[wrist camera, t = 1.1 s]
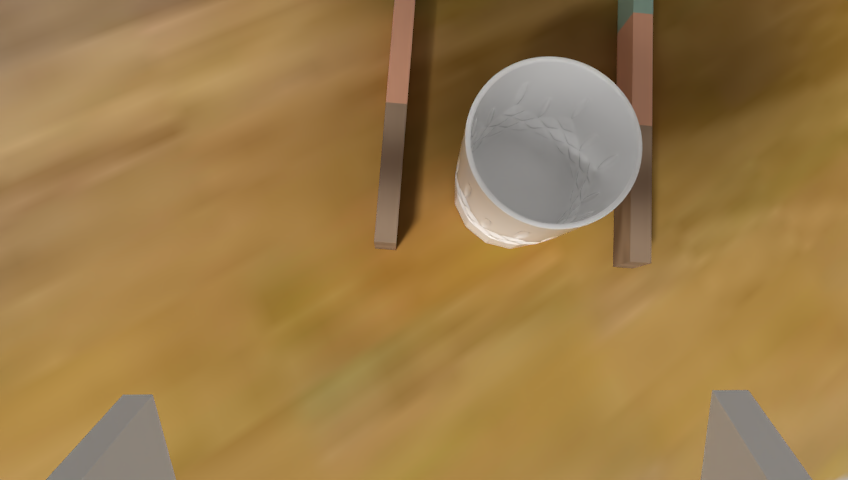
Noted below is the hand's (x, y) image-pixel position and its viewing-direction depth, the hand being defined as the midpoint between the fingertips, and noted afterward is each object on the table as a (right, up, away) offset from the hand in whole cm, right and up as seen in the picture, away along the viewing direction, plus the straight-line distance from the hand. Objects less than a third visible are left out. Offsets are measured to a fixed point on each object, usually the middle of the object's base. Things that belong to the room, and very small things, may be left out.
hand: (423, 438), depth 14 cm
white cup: (+5, +8, +22) cm, 24 cm away
